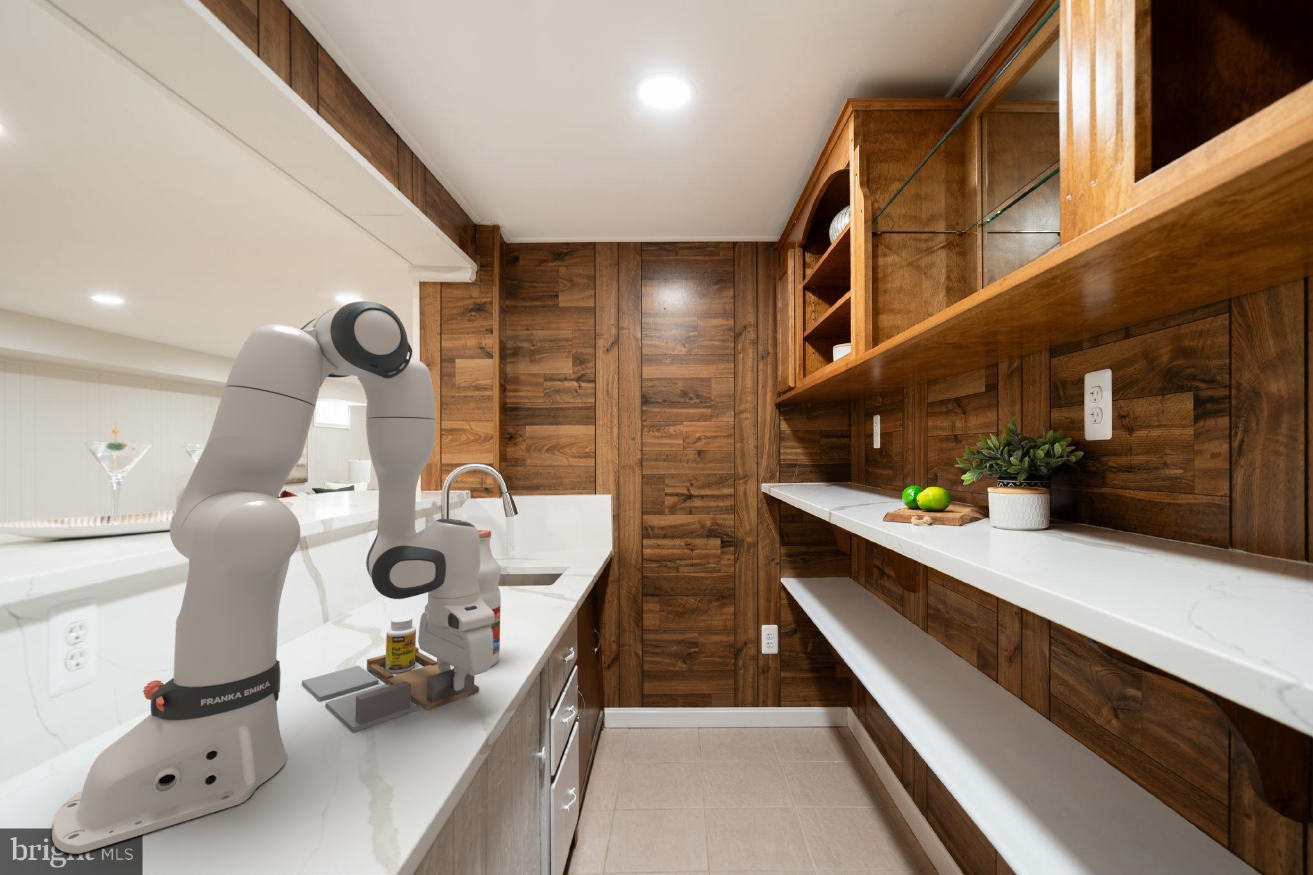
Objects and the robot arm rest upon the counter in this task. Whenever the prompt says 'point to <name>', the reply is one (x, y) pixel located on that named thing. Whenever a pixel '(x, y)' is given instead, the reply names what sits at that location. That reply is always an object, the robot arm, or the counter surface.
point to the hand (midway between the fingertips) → (452, 685)
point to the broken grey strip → (345, 687)
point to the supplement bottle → (400, 645)
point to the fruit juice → (490, 587)
